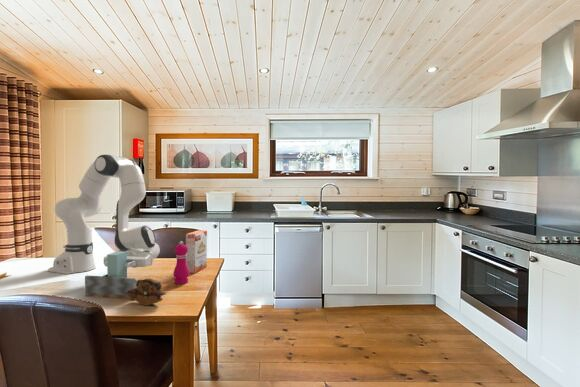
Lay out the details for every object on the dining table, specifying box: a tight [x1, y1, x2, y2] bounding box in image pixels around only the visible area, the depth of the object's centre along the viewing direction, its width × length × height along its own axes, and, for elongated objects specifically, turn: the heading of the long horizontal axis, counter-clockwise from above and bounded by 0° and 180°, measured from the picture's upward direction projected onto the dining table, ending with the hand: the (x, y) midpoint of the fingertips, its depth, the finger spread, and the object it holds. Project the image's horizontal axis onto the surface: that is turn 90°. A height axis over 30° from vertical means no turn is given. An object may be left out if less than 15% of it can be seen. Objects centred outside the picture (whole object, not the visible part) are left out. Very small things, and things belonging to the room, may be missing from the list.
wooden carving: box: [127, 277, 167, 306], centre depth 130 cm, size 16×5×10 cm, turn 80°
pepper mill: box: [173, 240, 190, 285], centre depth 157 cm, size 7×7×20 cm
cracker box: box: [185, 229, 208, 274], centre depth 179 cm, size 14×6×21 cm, turn 168°
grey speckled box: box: [84, 274, 138, 300], centre depth 145 cm, size 22×18×8 cm
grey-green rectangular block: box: [106, 250, 128, 278], centre depth 142 cm, size 4×6×16 cm
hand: (116, 265), depth 141 cm, fingers open, 8 cm apart
